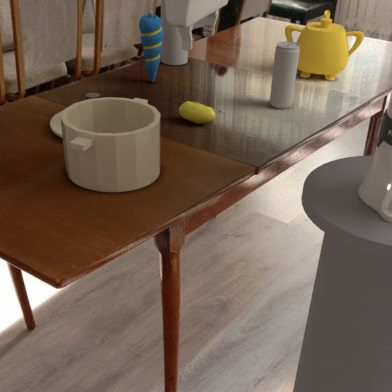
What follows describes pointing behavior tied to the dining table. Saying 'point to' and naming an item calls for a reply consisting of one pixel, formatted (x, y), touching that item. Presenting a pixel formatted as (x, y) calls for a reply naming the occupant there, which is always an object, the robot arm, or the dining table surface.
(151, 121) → the pot
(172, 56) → the bottle
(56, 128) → the lid
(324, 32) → the yellow sugar bowl
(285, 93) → the beverage can
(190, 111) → the lemon
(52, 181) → the dining table surface
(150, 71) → the ornament
